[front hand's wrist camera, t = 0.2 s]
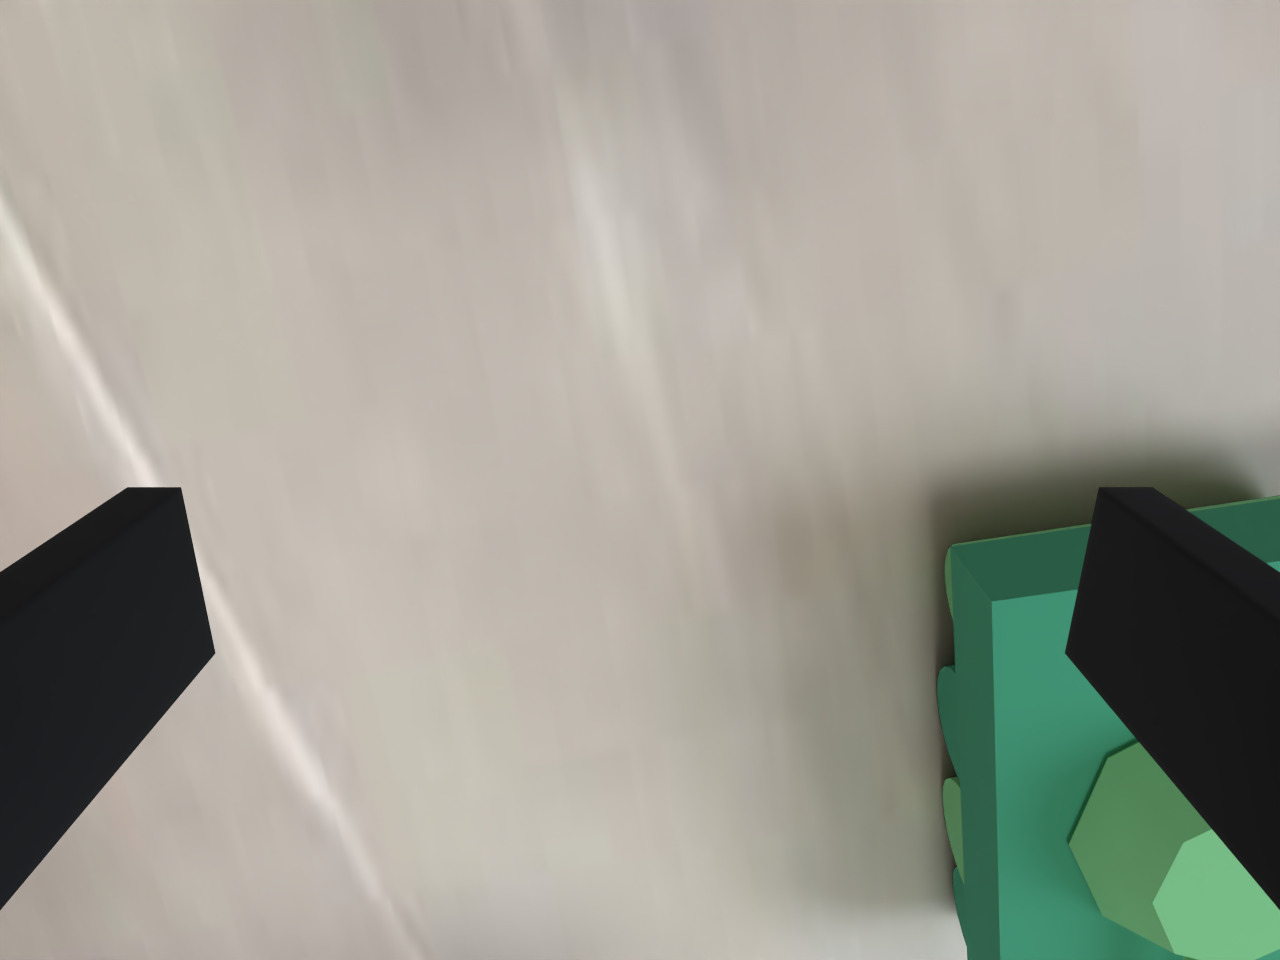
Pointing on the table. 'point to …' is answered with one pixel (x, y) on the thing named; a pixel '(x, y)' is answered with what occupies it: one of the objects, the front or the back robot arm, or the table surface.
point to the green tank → (1075, 778)
